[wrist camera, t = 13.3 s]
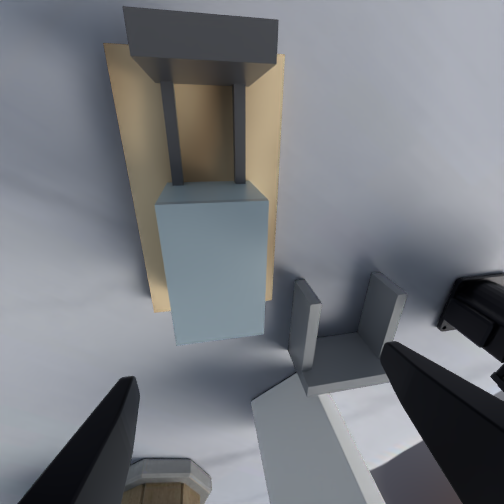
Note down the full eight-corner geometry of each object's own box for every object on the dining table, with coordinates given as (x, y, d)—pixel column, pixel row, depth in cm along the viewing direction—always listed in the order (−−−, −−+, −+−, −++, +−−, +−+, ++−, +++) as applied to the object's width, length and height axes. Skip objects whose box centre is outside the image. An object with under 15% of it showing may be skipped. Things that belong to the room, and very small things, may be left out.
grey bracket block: (150, 55, 13) (119, 5, 8) (249, 60, 14) (281, 20, 9) (181, 293, 19) (175, 355, 14) (248, 287, 20) (266, 343, 15)
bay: (294, 280, 22) (319, 318, 18) (380, 272, 24) (422, 305, 19) (288, 350, 26) (307, 397, 21) (362, 339, 27) (395, 381, 23)
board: (277, 60, 15) (284, 54, 14) (267, 289, 22) (271, 300, 21) (112, 51, 14) (103, 42, 12) (157, 300, 20) (154, 312, 19)
